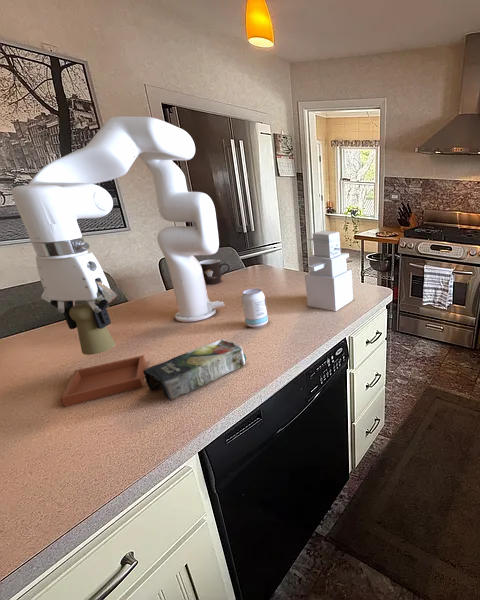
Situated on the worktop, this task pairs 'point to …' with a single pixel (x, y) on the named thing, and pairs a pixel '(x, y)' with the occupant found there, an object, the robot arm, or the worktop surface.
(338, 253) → the blocky snowman figure
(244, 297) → the beverage can
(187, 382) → the juice carton
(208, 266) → the coffee mug
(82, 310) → the cork
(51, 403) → the worktop surface
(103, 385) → the tray
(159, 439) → the worktop surface
